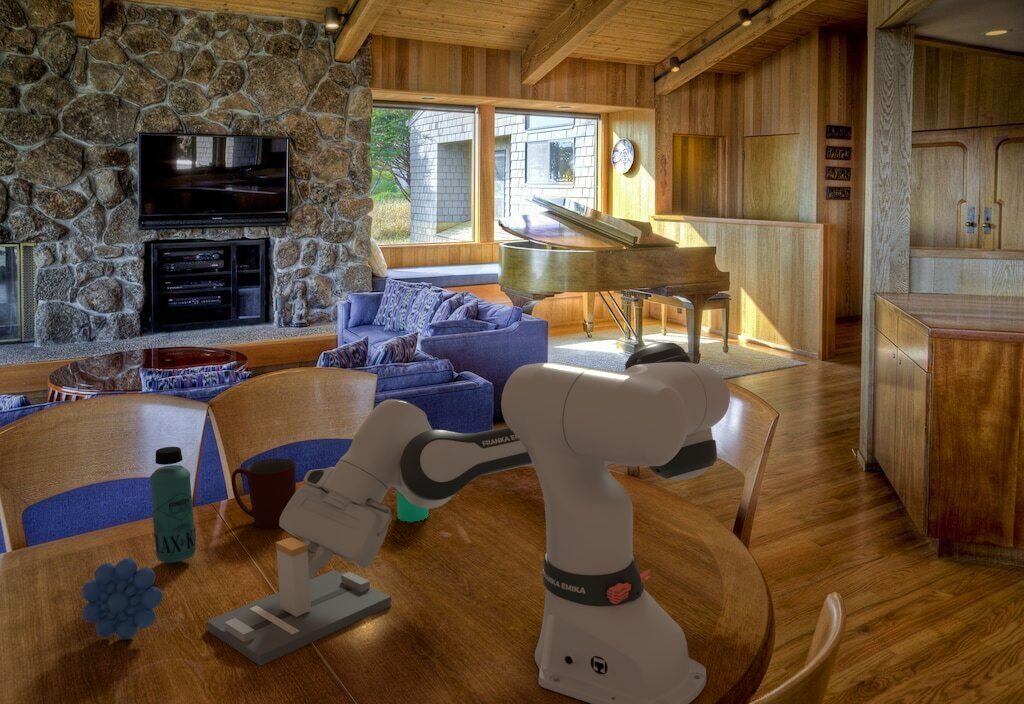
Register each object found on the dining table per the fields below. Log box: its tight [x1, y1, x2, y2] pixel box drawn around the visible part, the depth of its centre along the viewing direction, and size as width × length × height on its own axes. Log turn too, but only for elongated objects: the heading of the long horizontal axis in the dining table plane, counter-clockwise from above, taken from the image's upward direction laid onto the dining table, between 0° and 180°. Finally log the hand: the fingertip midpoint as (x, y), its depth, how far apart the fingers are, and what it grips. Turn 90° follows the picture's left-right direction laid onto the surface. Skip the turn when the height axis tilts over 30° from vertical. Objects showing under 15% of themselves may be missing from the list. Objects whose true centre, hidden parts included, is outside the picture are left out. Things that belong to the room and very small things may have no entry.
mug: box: [231, 457, 297, 530], centre depth 160 cm, size 12×9×11 cm
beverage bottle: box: [149, 446, 197, 563], centre depth 142 cm, size 6×7×20 cm
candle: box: [396, 490, 430, 523], centre depth 162 cm, size 6×6×12 cm
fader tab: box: [275, 536, 311, 617], centre depth 122 cm, size 4×3×10 cm, turn 48°
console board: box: [206, 569, 392, 667], centre depth 124 cm, size 14×22×3 cm, turn 138°
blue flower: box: [80, 557, 163, 641], centre depth 119 cm, size 12×7×12 cm, turn 86°
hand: (302, 574), depth 124 cm, fingers closed
